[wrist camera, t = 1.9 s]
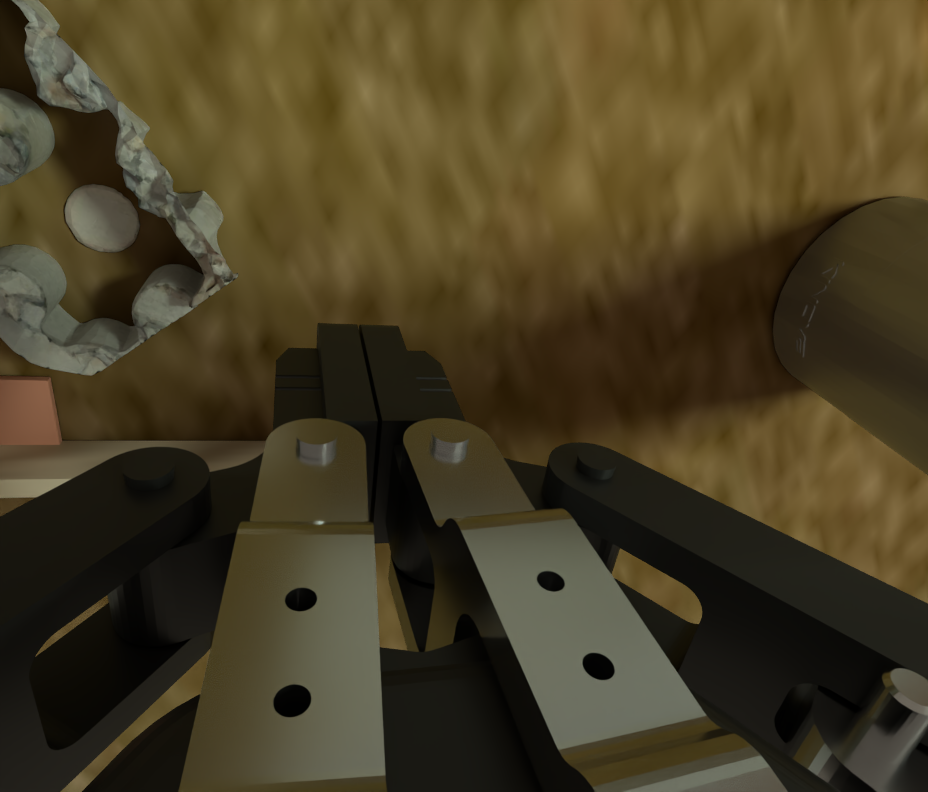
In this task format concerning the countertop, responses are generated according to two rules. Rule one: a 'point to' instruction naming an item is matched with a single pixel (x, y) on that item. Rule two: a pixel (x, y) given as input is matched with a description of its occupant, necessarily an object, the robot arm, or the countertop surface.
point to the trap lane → (73, 443)
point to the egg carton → (93, 219)
